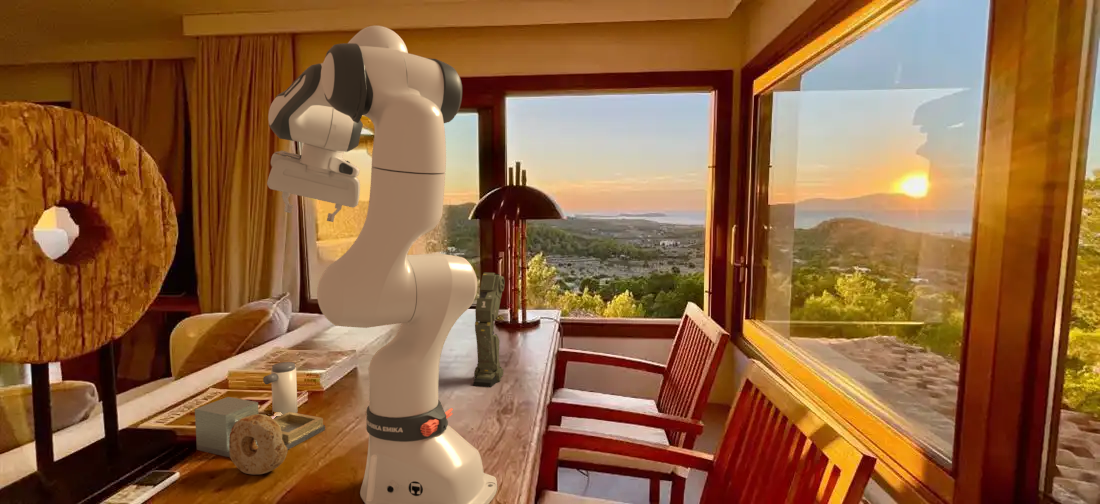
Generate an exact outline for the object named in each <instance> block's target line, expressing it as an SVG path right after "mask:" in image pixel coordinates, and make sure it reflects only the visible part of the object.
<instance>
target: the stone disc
mask: <svg viewBox="0 0 1100 504" xmlns="http://www.w3.org/2000/svg"><path fill="white" fill-rule="evenodd" d="M231 430H232V431H231V433H230V441H229V448H230V457H229V458H230V459H231V462H232V463H233V465H235V467H236V468H237V469H238V470H239V471H240V472H242V473H244V474H248V475H263V474H268V473H270V472H271V471H273V470H275V469H277V468H279V467H280V466H281V465H282V464H283V463H284V461H285V460H286V457H287V454H288V450H289V449H288V450H287V447H286V446H285V445H284V441H283V440H282V431H281V428H280V426H279V425H278V423H277V422H276V421H275V420H274V419H272V418H271V417H269V416H267V415H266V414H261V413H260V414H259V413H258V414H256V415H251V416H247V417H244V418H242V419H240V420H239V421H238V422H236V423H235V424H234V426H233V428H232V429H231ZM255 441H257V443H258V446H257V445H256V442H255Z"/></svg>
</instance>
